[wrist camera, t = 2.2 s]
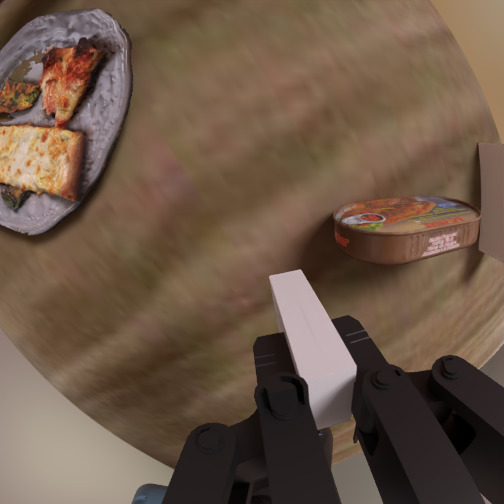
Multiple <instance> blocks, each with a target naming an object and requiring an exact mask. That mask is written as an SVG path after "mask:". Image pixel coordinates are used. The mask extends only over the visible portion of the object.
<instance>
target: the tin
mask: <svg viewBox="0 0 504 504" xmlns="http://www.w3.org/2000/svg"><path fill="white" fill-rule="evenodd" d="M480 218H481V211H480V210H479V209H478V208H476V207H475V206H473V205H471V204H469V203H467V202H464V201H460V200H457V199H453V198H448V197H442V196H435V195H417V196H406V197H398V198H388V199H379V200H371V201H362V202H356V203H351V204H347V205H344V206H342V207H340V208H338V209H336V210H335V211H334V213H333V219H334V226H335V240H336V243H337V245H338V246H339V248H340V249H342V250H343V251H344V252H346V253H347V254H349V255H350V256H351V257H353V258H355V259H357V260H360V261H364V262H368V263H373V264H381V265H396V264H406V263H410V262H414V261H418V260H422V259H426V258H430V257H434V256H438V255H441V254H445V253H449V252H452V251H455V250H459V249H463V248H466V247H469V246H471V245H472V244H474V243H475V241H476V240H477V236H478V231H479V223H480Z"/></svg>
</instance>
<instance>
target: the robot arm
mask: <svg viewBox="0 0 504 504" xmlns="http://www.w3.org/2000/svg"><path fill="white" fill-rule="evenodd" d="M269 280H270V286H271V291H272V297H273V303H274V308H275V314H276V320H277V325H278V329H279V333H276V334H271V335H266V336H261V337H257V339H256V341H255V343H254V346H253V352H254V360H255V368H256V375H257V383H258V385H257V387H256V388H255V393H254V398H255V401H256V404H257V409H256V411H255V412H254V414H252V415H251V416H250V417H249V418H248V419H246V420H244V421H242V422H240V423H237V424H235V425H232V426H230V427H227V426H226V425H223V424H219V423H207V424H204V425H201V426H198V427H197V428H196V429H194V430H193V431H192V432H191V433H190V435H189V436H188V438H187V440H186V442H185V445H184V447H183V450H182V452H181V455H180V458H179V460H178V463H177V465H176V468H175V470H174V473H173V475H172V478H171V481H170V483H169V486H162V485H157V484H145V485H142V486H141V487H139V488H138V490H137V492H136V494H135V496H134V499H133V501H132V504H342V503H341V500H340V497H339V494H338V491H337V488H336V485H335V482H334V478H333V475H332V472H331V464H332V451H333V435H332V432H331V430H330V426H334V425H337V424H340V423H344V422H347V421H350V420H351V414H353V416H354V418H355V421H356V427H355V432H354V437H353V441H354V444H355V443H357V440H359V442H360V445H361V447H362V450H363V452H364V455H365V457H366V460H367V462H368V465H369V467H370V470H371V472H372V475H373V477H374V480H375V483H376V485H377V488H378V491H379V493H380V496H381V498H382V501H383V504H485V502H484V500H483V498H482V496H481V494H482V495H483V496H484V497H486V499H488V500H489V501H490V502H491V503H492V504H504V388H503V387H502V386H501V385H499V384H498V383H497V382H495V381H494V380H492V379H491V378H490V377H488V376H487V375H485V374H484V373H483V372H481V371H480V370H478V369H477V368H476V367H474V366H473V365H471V364H470V363H468V362H467V361H466V360H464V359H462V358H460V357H458V356H453V355H448V356H443V357H441V358H439V359H437V360H436V361H435V363H434V364H433V366H432V369H431V370H426V371H419V372H404V371H403V370H402V369H401V368H400V367H397V366H395V365H391V364H389V363H388V362H387V361H386V359H385V358H384V357H383V355H382V354H381V352H380V351H379V349H378V348H377V346H376V345H375V344H374V342H373V341H372V339H371V338H369V335H368V334H367V332H366V331H365V330H364V328H363V326H362V325H361V324H360V322H359V321H358V320H356V319H354V318H353V317H351V316H349V315H347V316H343V317H339V318H335V319H332V320H330V318H329V316H328V315H327V313H326V311H325V309H324V308H323V306H322V304H321V303H320V301H319V299H318V298H317V296H316V294H315V292H314V291H313V289H312V287H311V286H310V284H309V282H308V281H307V279H306V277H305V276H304V274H303V272H302V271H301V269H300V270H295V271H291V272H286V273H281V274H276V275H271V276H269ZM480 493H481V494H480Z"/></svg>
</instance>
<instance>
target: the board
mask: <svg viewBox="0 0 504 504" xmlns="http://www.w3.org/2000/svg"><path fill="white" fill-rule="evenodd" d="M478 147H479V158H480V173H481V221H480V237H479V248H478V250H479V251H482V252H483V253H485V254H487V255H489V256H491V257H493V258H495V259H497V260H499V261H501V262H503V263H504V144H493V143H478Z"/></svg>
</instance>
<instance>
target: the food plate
mask: <svg viewBox="0 0 504 504" xmlns="http://www.w3.org/2000/svg"><path fill="white" fill-rule="evenodd" d="M111 16H112V15H111V14H109V13H107V12H104V11H103V10H100V9H80V10H72V11H63V12H60V13H59V12H58V13H52V14H47V15H46V16H44V15H43V16H38V17H37V18H35V19H34V20H32V21H31V22H28V23H27V24H26V25H25V26H23V27H22V28H21V29H20V30H19V31H18V32H17V33H16V34H15V35H14V36H13V37H12V38H11V40H10V41H9V42H8V43H7V44H6V45H5V46H4V47H3V49H2V50H1V51H0V112H5V113H6V112H7V113H9V115H8V117H10V114H11V117H12V116H13V118H15V119H13V120H12V121H9V122H5V123H3V122H1V125H0V225H3V226H5V227H8V228H10V229H13V228H14V229H13V230H15V229H16V230H15V231H18V232H20V231H21V233H25V232H27V233H28V234H27V235H41V234H43V233H46V232H48V231H49V230H51V229H54V227H55V226H57V225H58V223H60V222H61V221H62V220H64V219H65V218H66V217H67V216H68V215H70V214H72V212H74V211H75V210H77V209H78V208H80V206H81V205H82V204H83V202H84V200H85V199H86V197H87V194H88V193H89V191H90V190H91V189H92V188H93V187H94V186H95V185H96V183H98V180H99V179H100V177H101V176H102V173H103V172H104V168H105V164H106V161H108V159H109V157H110V155H111V152H112V150H113V146H114V145H115V142H116V140H117V138H118V136H119V133H120V130H121V127H122V125H123V123H124V120H125V118H126V116H127V113H128V109H129V106H130V105H129V104H130V100H131V96H132V91H133V89H132V88H133V84H132V82H133V74H132V68H131V67H132V66H131V47H132V46H131V45H132V44H131V40H130V38H129V34H128V33H127V32H126V31H125V30H126V29H120V28H121V25H120V24H119V22H118V21H117V20H116V19H113V18H112V17H111ZM63 35H65V36H64V37H63ZM53 43H55V44H53ZM67 43H68V44H67ZM50 44H51V46H50V47H49V48H48V47H46V48H44V47H45V46H46V45H50ZM56 44H57V46H55V45H56ZM63 44H66V45H64V46H62V45H63ZM53 45H54V47H53ZM41 49H47V50H48V51H46V52H45V51H44V50H42V53H44V52H45V53H46V55H45V56H44V57H43V58H42V60H41V62H42V63H41V64H40V63H39V64H35V61H33V62H30V64H31V67H33V68H32V70H30V72H29V73H27V74H28V75H27V76H26V75H25V76H24V77H23V83H22V82H16V81H12V80H11V79H8V80H7V78H8V77H9V76H10V75H11V74H12V72H13V70H14V68H16V67H17V66H18V65H19V64H20V65H21V61H23V60H24V59H25V60H27V59H28V58H31V57H32V56H34V53H33V52H34V51H36V55H37V51H39V50H41ZM33 63H34V64H33ZM32 64H33V65H32ZM21 67H22V66H21ZM29 67H30V66H29ZM29 67H28V68H29ZM14 73H15V72H14ZM23 74H24V73H23ZM20 78H21V77H20ZM5 82H6V84H5ZM4 84H5V86H4V90H1V89H2V87H3V85H4ZM18 111H19V112H18ZM52 113H54V114H55V118H52ZM36 115H37V116H36ZM15 121H16V122H15Z"/></svg>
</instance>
